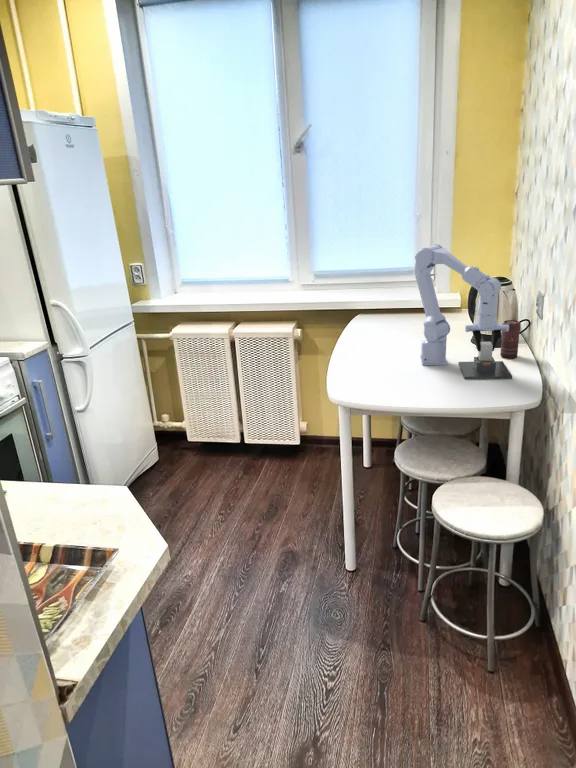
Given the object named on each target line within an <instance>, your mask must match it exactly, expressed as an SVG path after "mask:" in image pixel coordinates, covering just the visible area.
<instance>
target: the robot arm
mask: <svg viewBox="0 0 576 768" xmlns="http://www.w3.org/2000/svg"><path fill="white" fill-rule="evenodd" d="M414 259H415V265H414V275H415V279H416V283H417V287H418V291H419V295H420V298H421V301H422V306H423V311H424V313H425V320H424V322H423V327H424V329H423V335H424V338H425V339H421V344H420V347H421V348H420V350H421V351H420V361H421V365H422V366H437V365H438V366H443V365H444V366H447V365H449V364H448V363H449V362H448V360H447V338H448V336H447V335H449V334H450V332H451V326H450V323H449V322H448V321H447V320H446V316H445V315H444V314H443V313H441V308H440V304H439V302H438V298H437V294H436V290H435V287H434V281H433V279H432V278H433V277H432V274H431V272H432V270H434V267H435V266H436V265H444V266H446V267H447V268H449V269H451V270H453V271H454V272H456V273H458V274H459V275H461V278H462V281H464V282H465V283H467V284H468V285H469V286H471V287H472V288H474V289H475V290H477V292H478V294H479V297H480V301H479V315H478V323H477V324H469V325H466V324H465V326H464V330H465V332H466V333H470V332H472V334H473V337H474V339H475V340H474V341H475V342H476V349H477V351H478V352H479V351H480V343H481V342H482V334H481V333H482V332H491V341H490V342H491V343H492V344H493V350H492V352H494V351H495V348H496V345H497V343H498V341H499V339H500V338H501V337H502V331H509V325H503V323H502V324H501V323H498V324H497V313H498V300H499V299H498V296H499V293H500V292H501V290H502V283H501V281H500V280H499V279H498V278H497V277H491V276H490V275H489V274H486V273H484V272H482V271H481V270H480V268H479V267H478V266H473V265H472V266H467V265H466V264H465V263H463V262H462V261H461V260H460V259H458V258H457V257H456V256H454V254H452V253H451V252H449V251H448V249H447V248H445V247H443V246H442V245H441V244H433V245H430V246H426V247H422V248H420V249H419V250H418V251H417V253H416V254H415V256H414Z"/></svg>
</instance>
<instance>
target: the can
mask: <svg viewBox="0 0 576 768" xmlns="http://www.w3.org/2000/svg"><path fill="white" fill-rule="evenodd" d="M502 324H503V325H509V331H501V343H500V353H499V354H500V357H501V358H502V359H505V358H506V359H505V360H513V359H514V360H515V359H516V358H517V357H518V352H519V341H520V331H521V329H522V327H521V324H522V323H521V322H520V321H519V320H512V319H508V320H504V321H503V323H502Z"/></svg>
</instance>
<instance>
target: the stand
mask: <svg viewBox="0 0 576 768" xmlns="http://www.w3.org/2000/svg"><path fill="white" fill-rule="evenodd" d="M457 364H458V366H459V369H460V372H461V375H462V377H463V379H464V380H512V379H513V375H512V374H511V372H510V371H509V369H508V367H507V366H506V364H505V363H504V361H503V360H501V361H500V360H497V361H496V359H494V357H493V356H492V362H479V361H478V356H474V357H473V361H458V363H457Z"/></svg>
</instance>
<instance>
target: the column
mask: <svg viewBox="0 0 576 768" xmlns="http://www.w3.org/2000/svg"><path fill="white" fill-rule="evenodd" d="M492 350H493V344H492V343H491V341H481V343H480V351H478V352H477V357H478V361H479V362H492V357H493V351H492Z"/></svg>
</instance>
